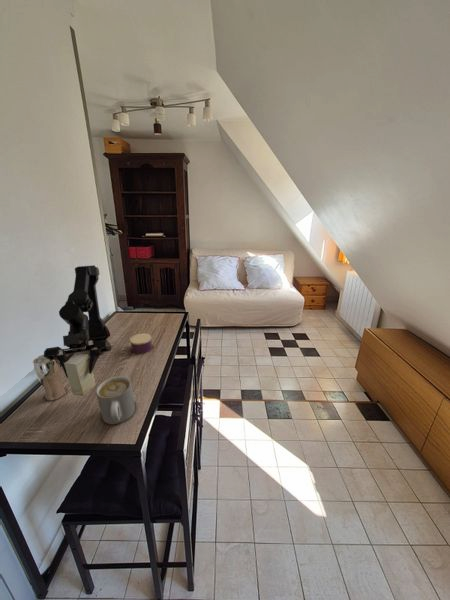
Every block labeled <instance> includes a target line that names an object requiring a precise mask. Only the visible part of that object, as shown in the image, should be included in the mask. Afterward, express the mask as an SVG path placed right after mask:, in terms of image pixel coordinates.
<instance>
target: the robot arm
mask: <svg viewBox="0 0 450 600" xmlns="http://www.w3.org/2000/svg"><path fill="white" fill-rule="evenodd" d="M74 274H75V278H74V285H73V291H72V292H71V293H69V294H68V296H67V300H66V301H65V303H64V305H63V306H61V308H60V309H59V311H58V315H59V317H60V319H62V320H63V322H65V323H66V324H67V325H68V326H69V331H68V332H67V335H62V340H63V347H66V348H61V347H60V346H53V347H47V348H45V350H43V355H44V357H45V358H47V359H49V360H52V359H54V360H58V361H59V364H60V366H61V367H62V369H63V372H64V375H65V377H66V378H67V379H68V376H67V372H66V369H65V365H64V363H65V362H67V361H68V360H69V359H70V358H69V357H68V355H72V354H78V353H85V352H89V357H90V364H89V373H90V374H91V373H92V371H93V372H94V368H95V366H96V364H97V362H98V359H99V358H100V356H102V355H103V354H104V353H106V352H111V351H112V346H111V343H110V342H109V341H108V339H109V337H111V332H110V330H109V328H108V326H107V325H106V322H105V320H104V319H103V318H102V317H101V313H100V307H99V300H98V292H97V283H98V282H99V280H100V279H99V276H100V269H99V267H97V266H96V265H95V264H94V265H93V264H92V265H79V266H76V267H75V268H74ZM85 313H87V314H88V315H87V314H85ZM91 341H92V344H90V342H91Z"/></svg>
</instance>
